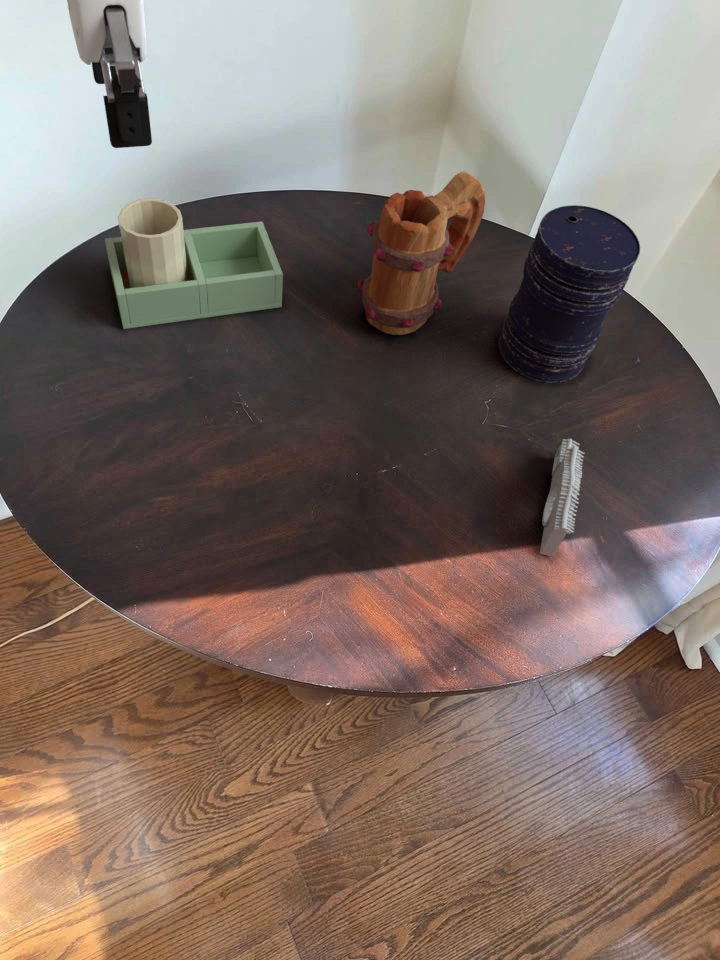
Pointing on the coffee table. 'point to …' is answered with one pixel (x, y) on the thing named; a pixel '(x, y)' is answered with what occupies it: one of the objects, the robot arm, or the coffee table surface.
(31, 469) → the coffee table surface
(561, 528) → the lattice window wall
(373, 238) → the mug
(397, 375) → the coffee table surface
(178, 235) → the paper cup
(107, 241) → the cup holder
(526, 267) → the navy cylinder
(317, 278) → the coffee table surface
